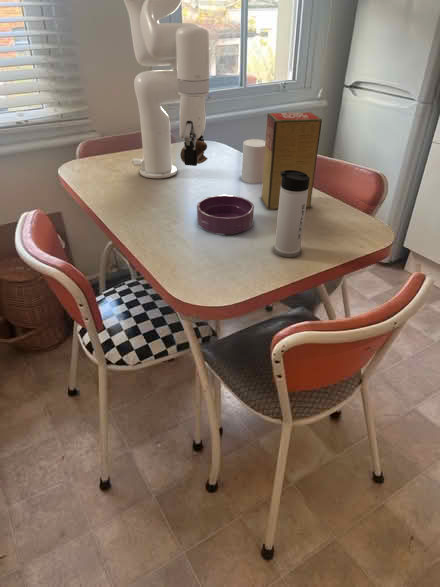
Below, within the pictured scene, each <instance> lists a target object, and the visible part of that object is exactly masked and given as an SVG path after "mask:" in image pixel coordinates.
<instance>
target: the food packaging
mask: <svg viewBox="0 0 440 587" xmlns="http://www.w3.org/2000/svg"><path fill="white" fill-rule="evenodd" d="M322 123H323V119H322V118H321V117H320V116H318V115H316V114H314V113H313V112H312V111H307V112H304V111H303V112H268V113H267V116H266V127H265V128H266V129H265V141H266V142H265V155H264V169H263V182H262V183H261V186H262V187H261V198H260V199H261V201H262V203H263V204H264V206H265V207H266V209H267V210H270V211H271V210H278V208H279V198H280V189H281V180H282V177H281V175H280V173H281V171H285V170H295V171H300V172H303V173H305V174H307V176H308V177H309V178H310V180H309V189H308V196H307V204H306V209H307V208H311V206H312V196H313V188H314V182H315V174H316V166H317V158H318V151H319V144H320V137H321V132H322Z"/></svg>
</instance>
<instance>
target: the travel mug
mask: <svg viewBox="0 0 440 587" xmlns="http://www.w3.org/2000/svg"><path fill="white" fill-rule="evenodd" d="M280 175H281V177H282V180H281V189H280V198H279V208H278V209H277V219H276V228H275V239H274V248H273V249H274V253H275V254H276V255H278V256H279V257H283V258H295V257H298V256H299V255H300V254H301V247H302V239H303V232H304V227H305V226H304V224H305V217H306V212H307V211H306V210H307V208H306V204H307V196H308V189H309V180H310V178H309V177H308V176H307V174H305V173H303V172H300V171H295V170H285V171H281V173H280Z"/></svg>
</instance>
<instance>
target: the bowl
mask: <svg viewBox="0 0 440 587" xmlns="http://www.w3.org/2000/svg"><path fill="white" fill-rule="evenodd" d="M254 216H255V205H254V203H253V202H252V201H250V200H249V199H247V198H244V197H242V196H238V195H229V194H228V195H227V194H218V195H213V196H212V195H211V196H207V197H204V198H203V199H201V200H200V201H198V203H197V205H196V222H197V225H198V226H199V227H200V228H201V229H202V230H205V231H207V232H209V233H214V234H221V235H232V234H238V233H242V232H246V231H247V230H249V229H250V228H251V227H252V226H253V225H254Z"/></svg>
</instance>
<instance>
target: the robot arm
mask: <svg viewBox="0 0 440 587" xmlns="http://www.w3.org/2000/svg"><path fill="white" fill-rule="evenodd" d="M122 1H123V3H124V6H125V8H126V10H127V14H128V18H129V26H130V32H131V40H132V45H133V46H132V47H133V52H134V57H135V60H136V62H137V64H138V65H141V66H143V67H163V66H164V67H165V66H166V67H167V66H169V67H171V69H164V70H163V69H162V70H161V69H158V70H146V71H142V72H139V73H138V74H137V75H135V78H134V80H133V86H134V87H133V88H134V92H135V97H136V101H137V106H138V113H139V123H140V134H141V146H142V158H132V159H131V163H132V164H131V165H132V166H133V167H140V168H139V174H140V175H141V176H143V177H145V178H149V179H166V178H170V177H173V176H175V175H176V174H177V172H178V169H177V167H176V166H175V165H173V158H172V135H171V121H170V116H169V114H168V113H167V112H166V111H165V109H164V108H163V107H162V105H168V104H179V138H180V139H184V142H183V147H184V162H183V163H184V165H185V166H192V167H197V165H198V163H197V149H196V142H197V140H199V141H203V142H205V139H204V137H205V136H204V132H205V130H206V96H208V95H210V34H209V31H208V29H207V28H206V27H203V26H200V25H199V24H198V23H194V22H161V23H160V20H162V19H165V18H167V17H168V16H170V15H172V14H173V13H175V12H176V11H177V10H178V9H179V7H180V6H181V4H182V0H122ZM193 140H194V142H192V141H193ZM203 154H204V155H205V152H204V153H203Z"/></svg>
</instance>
